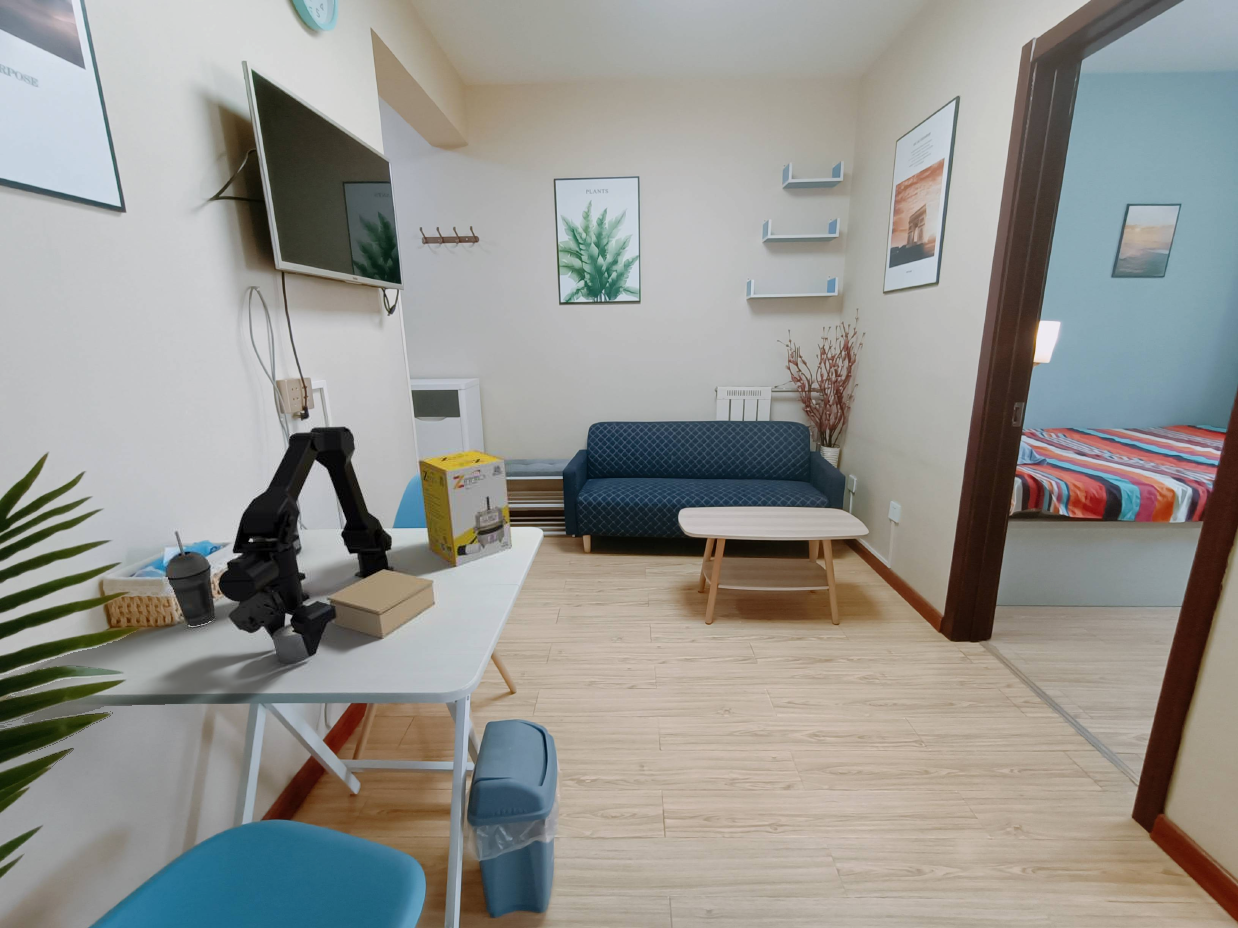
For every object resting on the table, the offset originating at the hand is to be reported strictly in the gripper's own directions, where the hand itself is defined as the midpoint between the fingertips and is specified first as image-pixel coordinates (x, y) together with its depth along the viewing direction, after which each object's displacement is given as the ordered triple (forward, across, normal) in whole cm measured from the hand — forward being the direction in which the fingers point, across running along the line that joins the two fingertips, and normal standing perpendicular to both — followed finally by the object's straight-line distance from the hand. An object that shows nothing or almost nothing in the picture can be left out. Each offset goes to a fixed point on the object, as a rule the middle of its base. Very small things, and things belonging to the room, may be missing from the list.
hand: (295, 649), depth 96 cm
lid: (-4, +4, +17) cm, 18 cm away
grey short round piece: (+1, 0, 0) cm, 1 cm away
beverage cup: (+1, -30, 0) cm, 30 cm away
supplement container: (+1, -47, +28) cm, 55 cm away
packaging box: (+1, -2, +51) cm, 51 cm away
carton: (+1, +4, +17) cm, 17 cm away
